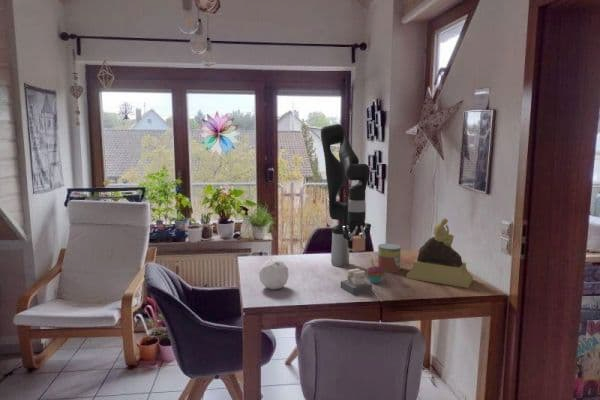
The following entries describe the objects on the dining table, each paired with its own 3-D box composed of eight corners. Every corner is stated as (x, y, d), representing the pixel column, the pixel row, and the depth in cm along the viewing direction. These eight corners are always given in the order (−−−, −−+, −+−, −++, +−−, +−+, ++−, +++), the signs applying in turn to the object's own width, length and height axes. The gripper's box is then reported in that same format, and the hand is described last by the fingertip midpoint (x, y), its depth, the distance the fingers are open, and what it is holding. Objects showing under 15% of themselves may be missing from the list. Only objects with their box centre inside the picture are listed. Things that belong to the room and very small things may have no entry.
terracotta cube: (347, 248, 194) (347, 236, 193) (358, 247, 196) (358, 235, 195) (354, 251, 189) (354, 239, 188) (365, 250, 191) (365, 238, 191)
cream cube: (347, 281, 196) (347, 270, 195) (357, 280, 199) (358, 268, 198) (354, 285, 191) (354, 273, 190) (364, 283, 194) (365, 271, 193)
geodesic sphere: (301, 277, 194) (288, 250, 198) (277, 284, 184) (264, 255, 189) (283, 290, 203) (271, 263, 207) (260, 297, 194) (248, 269, 198)
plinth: (340, 287, 198) (340, 281, 197) (359, 284, 202) (359, 278, 202) (352, 294, 189) (352, 288, 188) (371, 291, 193) (372, 284, 193)
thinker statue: (472, 280, 208) (476, 218, 204) (468, 288, 197) (471, 222, 193) (414, 271, 222) (416, 212, 218) (406, 278, 211) (408, 216, 207)
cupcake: (370, 285, 201) (371, 259, 199) (363, 279, 209) (363, 255, 207) (387, 283, 203) (388, 258, 201) (379, 277, 211) (380, 253, 209)
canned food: (394, 273, 218) (394, 250, 216) (373, 269, 224) (374, 246, 223) (403, 268, 226) (404, 245, 225) (383, 264, 233) (384, 242, 231)
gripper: (347, 212, 184) (346, 251, 186) (375, 209, 190) (374, 247, 192) (338, 209, 190) (337, 247, 193) (365, 207, 196) (365, 243, 199)
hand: (356, 247), depth 193 cm, fingers closed on terracotta cube, 5 cm apart
